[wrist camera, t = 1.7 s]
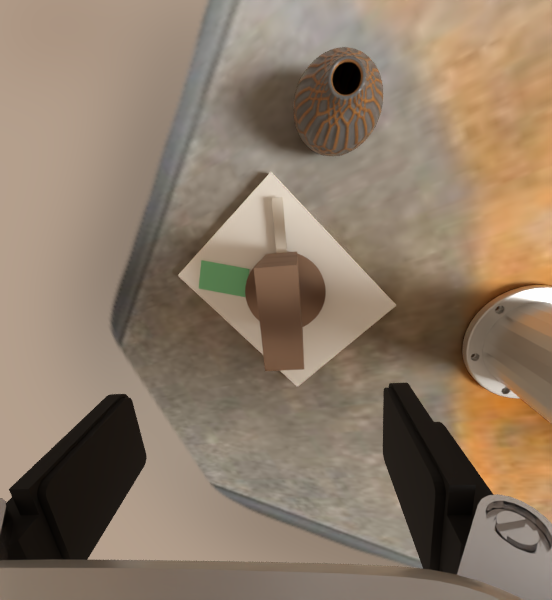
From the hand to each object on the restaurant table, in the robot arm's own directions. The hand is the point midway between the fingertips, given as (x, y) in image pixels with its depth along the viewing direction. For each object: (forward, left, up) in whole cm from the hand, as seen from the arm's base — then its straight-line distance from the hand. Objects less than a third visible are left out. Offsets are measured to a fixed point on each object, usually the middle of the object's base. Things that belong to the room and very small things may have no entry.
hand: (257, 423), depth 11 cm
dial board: (0, 0, -22) cm, 22 cm away
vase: (+8, -14, -22) cm, 27 cm away
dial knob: (+2, -2, -20) cm, 20 cm away
